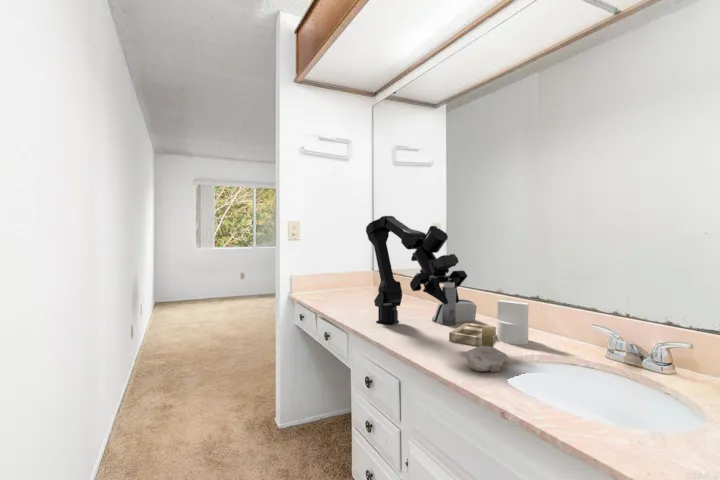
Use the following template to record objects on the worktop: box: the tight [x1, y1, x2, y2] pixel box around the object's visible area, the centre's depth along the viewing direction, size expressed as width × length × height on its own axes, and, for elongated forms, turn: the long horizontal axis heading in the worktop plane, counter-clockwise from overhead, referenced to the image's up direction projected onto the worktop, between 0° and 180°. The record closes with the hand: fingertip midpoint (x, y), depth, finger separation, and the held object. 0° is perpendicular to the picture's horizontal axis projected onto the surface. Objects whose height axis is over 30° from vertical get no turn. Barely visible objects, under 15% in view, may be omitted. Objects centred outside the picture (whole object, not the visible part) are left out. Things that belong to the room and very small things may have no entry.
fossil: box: [466, 346, 510, 373], centre depth 90 cm, size 9×6×10 cm
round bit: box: [441, 282, 457, 327], centre depth 108 cm, size 4×4×12 cm
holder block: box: [448, 322, 497, 347], centre depth 117 cm, size 10×16×2 cm, turn 145°
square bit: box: [482, 325, 494, 348], centre depth 102 cm, size 3×3×7 cm
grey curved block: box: [431, 298, 477, 325], centre depth 139 cm, size 17×5×10 cm, turn 108°
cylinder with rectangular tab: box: [496, 299, 530, 345], centre depth 114 cm, size 9×9×12 cm
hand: (452, 302), depth 106 cm, fingers closed on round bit, 4 cm apart
